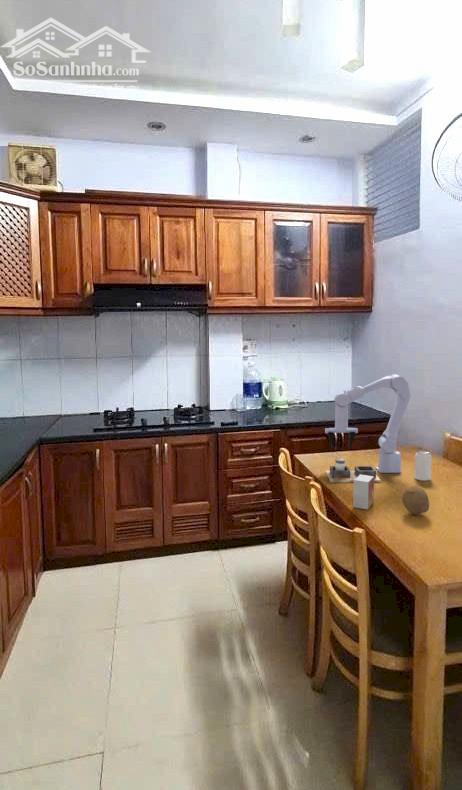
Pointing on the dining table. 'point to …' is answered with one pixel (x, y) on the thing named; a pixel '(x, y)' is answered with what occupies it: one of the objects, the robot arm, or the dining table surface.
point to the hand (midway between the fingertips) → (341, 448)
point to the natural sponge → (415, 500)
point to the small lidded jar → (339, 464)
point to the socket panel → (351, 474)
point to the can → (422, 465)
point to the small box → (363, 492)
